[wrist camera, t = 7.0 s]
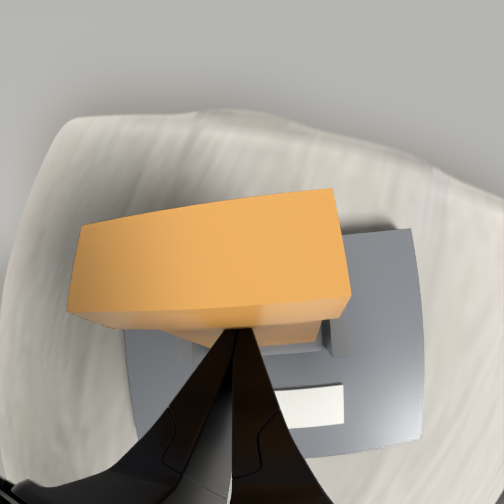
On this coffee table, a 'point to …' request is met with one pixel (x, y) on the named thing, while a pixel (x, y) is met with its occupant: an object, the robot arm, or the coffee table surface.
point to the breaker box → (324, 360)
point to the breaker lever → (218, 270)
